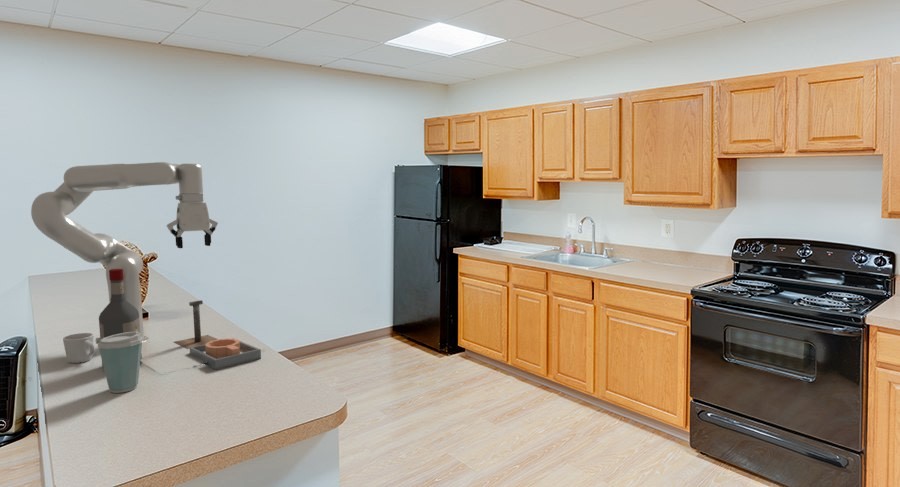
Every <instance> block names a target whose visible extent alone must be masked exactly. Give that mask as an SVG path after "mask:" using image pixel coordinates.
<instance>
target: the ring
mask: <svg viewBox="0 0 900 487" xmlns="http://www.w3.org/2000/svg"><path fill="white" fill-rule="evenodd" d="M217 339H218V340H213V341H210V342H208V343H206V345H205V350H206V351H205V354H207V355H209V356H211V357H214V358H216V359H219V358H223V357H228V356H232V355H236V354H240V353H241V348H240V342H239V341H240V340H239V339H238V338H237V339H236V338H234V339H232V338H217Z"/></svg>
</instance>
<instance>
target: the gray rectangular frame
mask: <svg viewBox="0 0 900 487" xmlns="http://www.w3.org/2000/svg"><path fill="white" fill-rule="evenodd" d="M231 339H235V338H231ZM239 342H240V349H242V350H245V352H240V354H236V355H232V356H228V357H223V358H214V357H211V356H209V355H207V354H206V350H205V345H206V344H205V345H200V346H195V347H191V348H190V349H189V354H190V355H192V356H194V357H196V358H198V359H201V360H203V361H204V362H203V363H202V364H204V365H206V366H207V367H209V368H211V369H213V370H215V371H217V370H220V369H224V368H228V367H233V366H237V365H239V364H240V365H241V364H245V363H249V362H252V361H256V360H260V359H261V358H262V356H261V355H262V353H261V352H262V350H261V349H260V348H258V347H256V346H253V345H250V344H248V343H245V342H243V341H240V340H239Z"/></svg>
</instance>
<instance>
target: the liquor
mask: <svg viewBox="0 0 900 487" xmlns="http://www.w3.org/2000/svg"><path fill="white" fill-rule="evenodd" d="M109 278H110V283H111V299H110V301H111V302H109V303H108V304H107V305H106V306H105V307H104V309H103V310H102V311H101V312H100V314H99V315H98V326H99V337H100V340H101V339H103V338H105V337H108V336H111V335H116V334H120V333H126V332H139V333H140V323H139V312H138V310H137V309H136V308H135V307H134V306H133V305H131V304H130V303H129V302H128V301H127V300H126V297H125V295H124V283H123V279H124V275H123V269H111V270H109ZM142 359H143V358H142V354H141V359H140V363H141V362H142ZM101 366H102V368H103V369H104V367H103V363H102V362H101Z"/></svg>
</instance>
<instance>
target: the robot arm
mask: <svg viewBox="0 0 900 487" xmlns="http://www.w3.org/2000/svg"><path fill="white" fill-rule="evenodd" d="M174 184H178V189H179V190H178V191H179V194H178V195H175V200H178V201H179V202H178V203H177V207H176V218H175V220H173V221H171V222H169V223H167V224H166V227H167V229H168V231H169V232H170V234H172V235H173V236H174V237H175V246H176V247H177V248H178V249H184V248H183V246H184V245H183V244H184V242H183V236H182V235H183V233H184V232H196V231H197V232H198V231H201V232H202V231H203V232H204V236H203V237H204V238H203V239H204V246H206V247H210V246H211V244H212V235H213V233H214V232H215V231H216V229H217V226H218V221H216V220H214V219H211V218H210V215H209V214H210V213H209V209H208V205H207V202H204V189H203V188H204V186H203V185H204V184H203V168H202V166H201V164H199V163H181V164H178V163H170V162H165V161H158V162H157V161H156V162H142V163H140V162H139V163H110V164H109V163H108V164H91V165H76V166H72V167H69V168H68V169H66V170H65V172H64V174H63V182H62V183H61V184H60V185H59V186H58V187H57V188H56V189H55V190H54V191H47V192H43V193H40V194H39V195H37V196H36V197H35V199H34V200H33V201H32V205H31V208H30V209H31V210H30V212H31V213H30V215H31V219H32V221H33V223H34V226H36V229H38V230H39V231H40V232H41V233H42V234H43V235H44V236H46V237H47V238H49V239H50V240H52V241H54V242H55V243H57V244H58V245H60V246H62V247H63V248H64V249H66V250H68V251H69V252H71V253H72V254H74V255H76V256H77V257H79V258H80V259H82V260H83V261H85V262H87V263H90V264H97V263H98V264H102V265H103V266H105V278H106V283H107V290H108V301H109V303H110V302H111V301H110V299H111V283H110V278H109V270H111V269H123V275H124V279H123V283H124V295H125V297H126V300H127V301H128V302H129V303H130V304H131V305H133V306H134V307H135V308H136V309H137V310H138V312H139V323H140V336H141V337H142V338H143V342H142V343H144V342H147V341H148V340H149V337H148V336H145V335H144V322H143V321H144V320H143V319H144V318H143V306H142V305H143V304H142V292H141V290H142V289H141V282H140V274H141V272H142V270H143V269H144V261H143V259H142V257H141V256H140V255H139V254H138V253H137V252H136V251H134V250H133V249H131V248H129V247H127V246H126V245H124V244H123V243H121V242H120V241H118V240H116V239H115V238H114V237H112V236H110V235H108V234H105V233H93V232H92V231H90V230H88V229H87V228H85V227H83V226H82V225H80V224H79V223H78V222H76V221H73V220H72V219H70V218H68V217H67V216H68V215H70V214H71V213H73V212H74V211H75V210H76V209H78V207H79V206H80V205H82V203H83V202H84V201H85V200H87V199H88V197H89V196H91V194H92V193H93V192H95V191H96V192H97V191H110V190H111V191H113V190H124V189H130V188H135V187H144V186H145V187H146V186H161V185H163V186H165V185H167V186H168V185H174ZM175 226H176V229H177V230H176V229H174V227H175ZM99 341H100V336H99V337H96V338H95V344H97V345H98V342H99Z"/></svg>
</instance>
